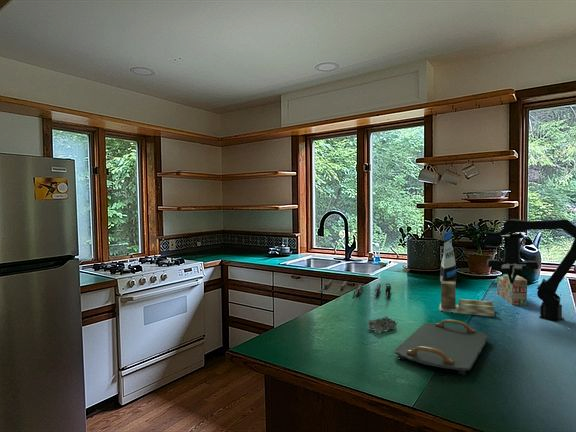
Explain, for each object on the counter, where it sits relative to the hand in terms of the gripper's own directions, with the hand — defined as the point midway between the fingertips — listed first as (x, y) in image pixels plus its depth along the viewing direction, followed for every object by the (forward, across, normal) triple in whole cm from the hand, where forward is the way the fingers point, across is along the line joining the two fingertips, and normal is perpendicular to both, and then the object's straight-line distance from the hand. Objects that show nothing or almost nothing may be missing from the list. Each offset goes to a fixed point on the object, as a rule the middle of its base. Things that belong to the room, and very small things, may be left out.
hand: (511, 283), depth 163 cm
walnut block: (+12, +25, +3) cm, 28 cm away
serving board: (+14, +26, +53) cm, 60 cm away
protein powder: (+13, +26, -60) cm, 67 cm away
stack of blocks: (+13, -3, -24) cm, 28 cm away
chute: (+13, +17, +3) cm, 22 cm away
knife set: (+13, +70, -6) cm, 72 cm away
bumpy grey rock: (+14, +49, +40) cm, 65 cm away
